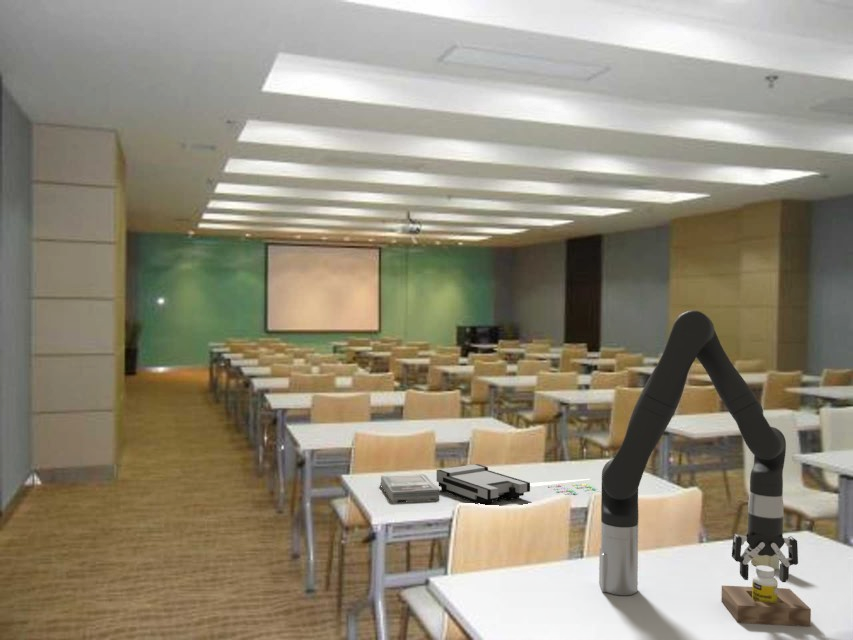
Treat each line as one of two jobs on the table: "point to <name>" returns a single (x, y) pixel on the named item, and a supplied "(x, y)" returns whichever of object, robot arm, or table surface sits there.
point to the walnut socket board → (766, 607)
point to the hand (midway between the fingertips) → (763, 580)
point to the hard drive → (409, 487)
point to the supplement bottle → (764, 585)
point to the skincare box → (766, 561)
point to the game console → (480, 484)
